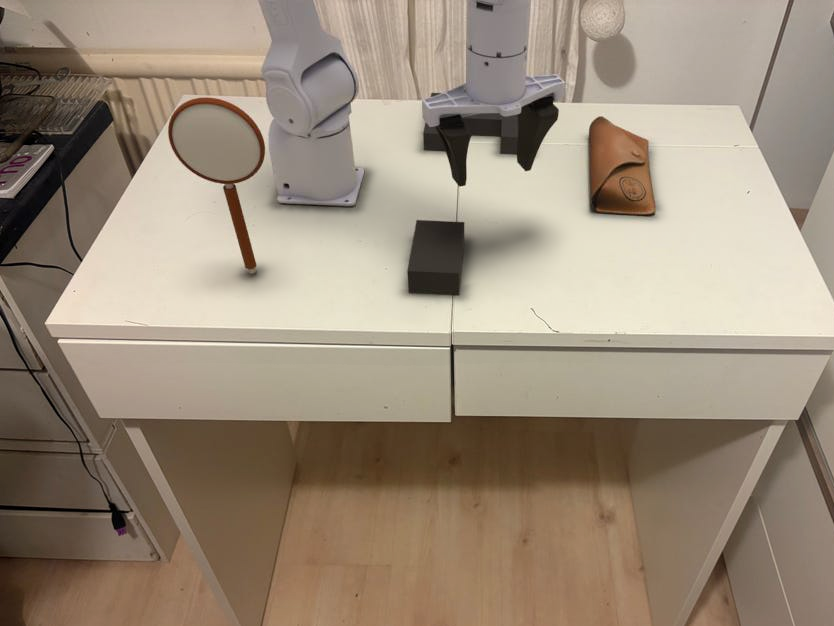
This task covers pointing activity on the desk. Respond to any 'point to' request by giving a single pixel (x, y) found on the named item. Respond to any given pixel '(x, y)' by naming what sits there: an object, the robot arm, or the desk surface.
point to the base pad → (480, 130)
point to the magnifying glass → (220, 153)
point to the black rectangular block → (436, 257)
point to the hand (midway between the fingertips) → (491, 173)
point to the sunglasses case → (619, 170)
